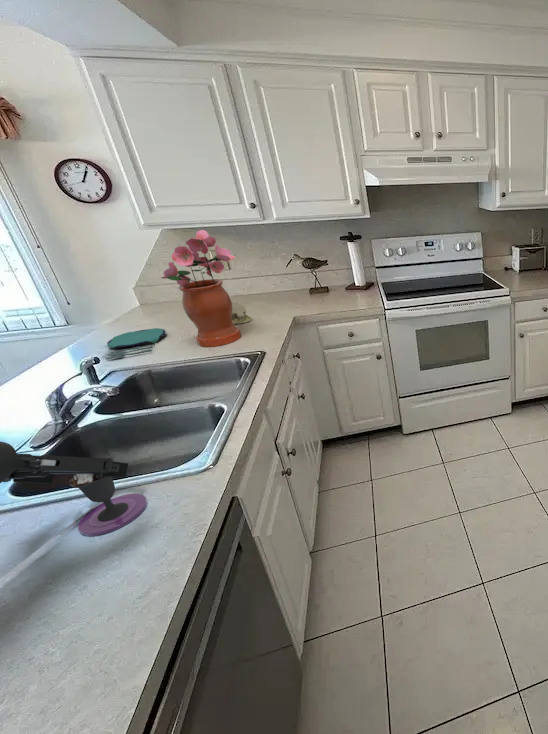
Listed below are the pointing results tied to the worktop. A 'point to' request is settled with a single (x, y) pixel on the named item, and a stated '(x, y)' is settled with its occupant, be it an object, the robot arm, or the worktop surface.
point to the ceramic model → (239, 314)
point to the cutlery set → (134, 341)
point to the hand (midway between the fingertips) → (88, 473)
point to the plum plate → (96, 527)
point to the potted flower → (205, 291)
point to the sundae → (99, 493)
